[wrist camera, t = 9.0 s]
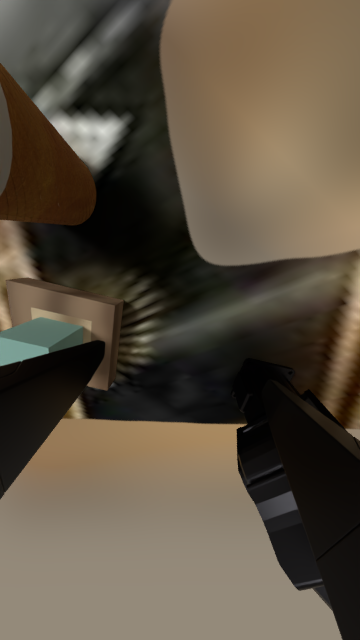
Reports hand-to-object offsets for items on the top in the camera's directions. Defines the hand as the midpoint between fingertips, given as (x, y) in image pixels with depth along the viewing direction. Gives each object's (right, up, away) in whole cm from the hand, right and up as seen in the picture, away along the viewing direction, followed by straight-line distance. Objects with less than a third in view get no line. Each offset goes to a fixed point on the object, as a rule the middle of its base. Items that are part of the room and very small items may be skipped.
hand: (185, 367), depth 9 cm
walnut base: (-14, +1, +14) cm, 20 cm away
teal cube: (-14, 0, +11) cm, 18 cm away
